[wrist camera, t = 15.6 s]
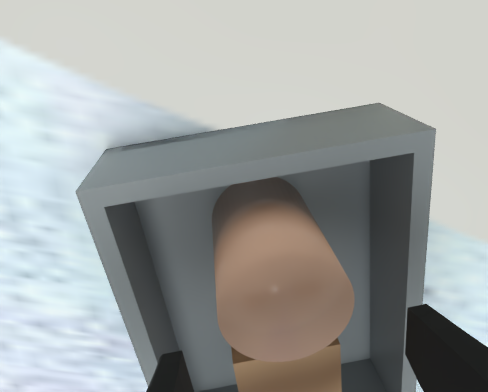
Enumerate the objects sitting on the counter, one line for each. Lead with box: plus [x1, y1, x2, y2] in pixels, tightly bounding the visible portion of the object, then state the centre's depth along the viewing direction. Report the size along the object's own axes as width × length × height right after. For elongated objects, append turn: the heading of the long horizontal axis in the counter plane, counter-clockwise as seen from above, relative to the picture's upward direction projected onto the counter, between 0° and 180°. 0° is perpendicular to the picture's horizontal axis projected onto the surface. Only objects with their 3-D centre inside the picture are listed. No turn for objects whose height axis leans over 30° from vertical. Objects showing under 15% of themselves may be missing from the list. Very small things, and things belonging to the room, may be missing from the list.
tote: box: [76, 103, 436, 392], centre depth 20 cm, size 18×14×5 cm
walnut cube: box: [231, 338, 342, 392], centre depth 21 cm, size 5×5×5 cm
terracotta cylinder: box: [212, 177, 355, 362], centre depth 17 cm, size 5×5×7 cm
